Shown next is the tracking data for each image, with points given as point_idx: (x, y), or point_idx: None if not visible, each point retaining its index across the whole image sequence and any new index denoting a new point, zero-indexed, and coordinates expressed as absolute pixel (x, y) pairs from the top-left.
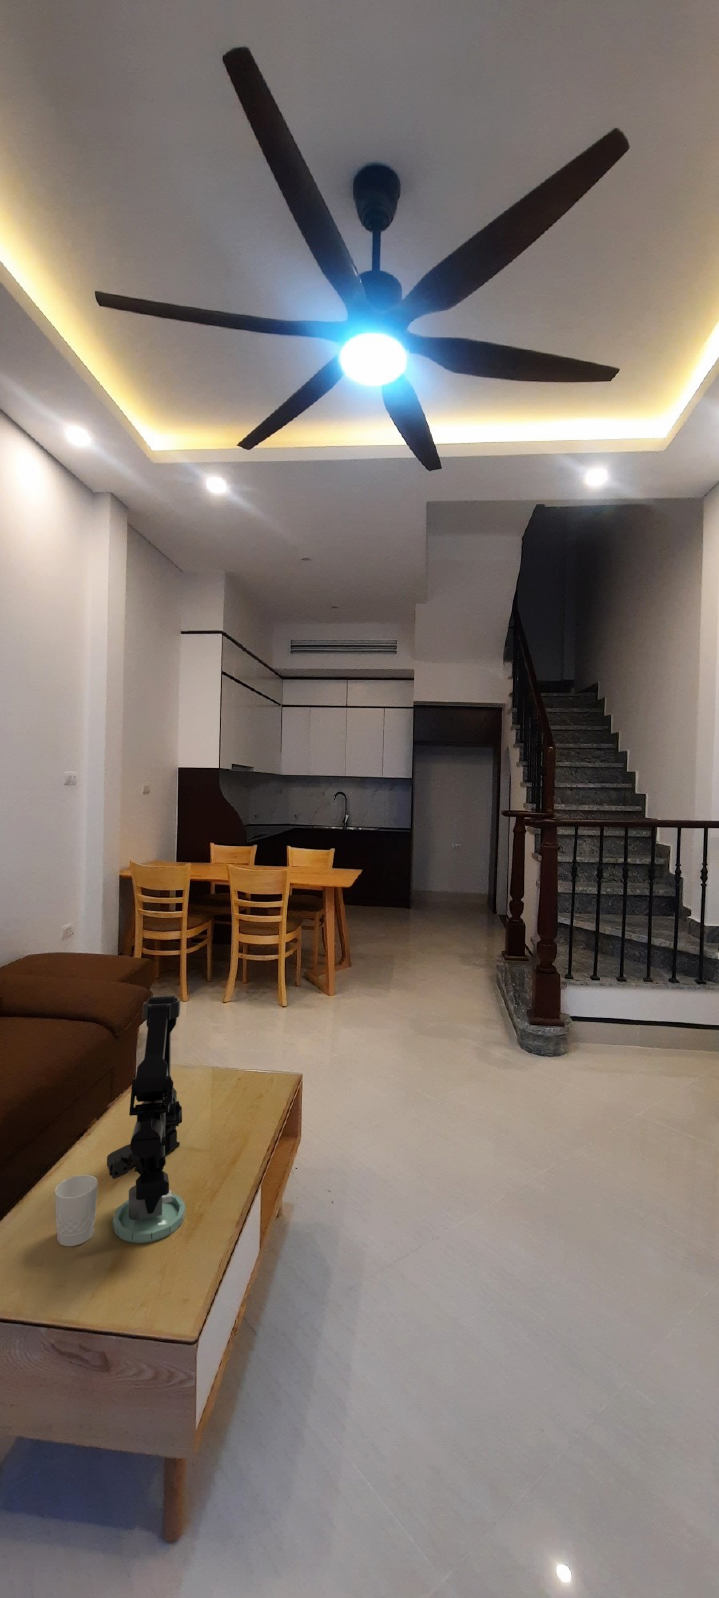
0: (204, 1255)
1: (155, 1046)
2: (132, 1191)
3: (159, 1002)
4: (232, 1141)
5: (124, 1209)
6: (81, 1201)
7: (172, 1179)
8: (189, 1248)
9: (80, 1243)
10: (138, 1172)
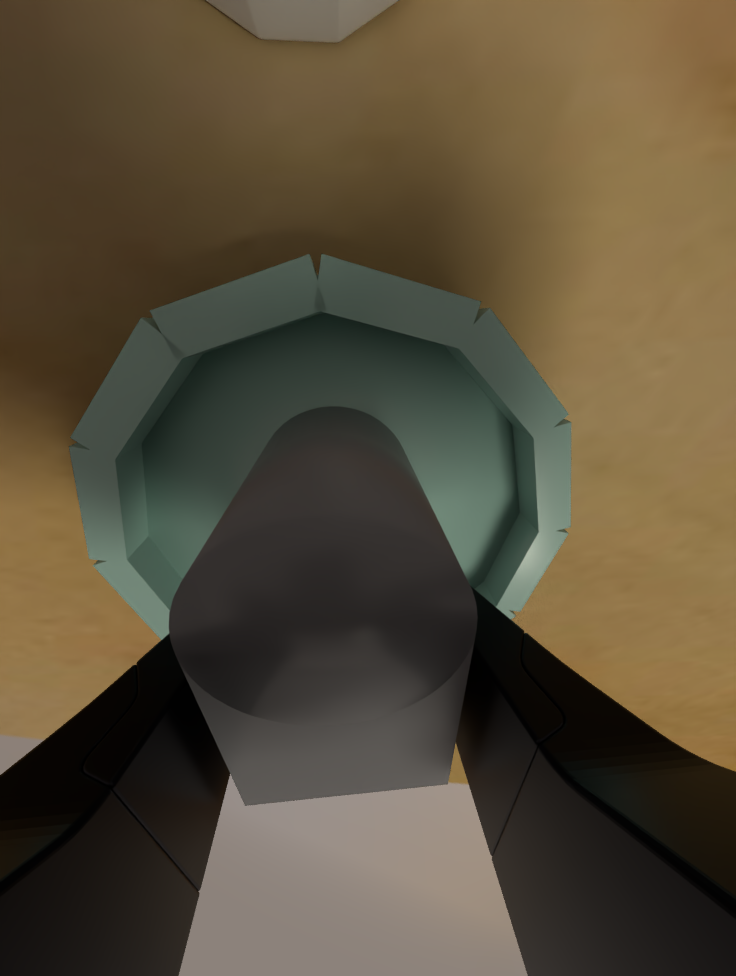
0: (45, 705)
1: None
2: (311, 568)
3: None
4: (727, 751)
5: (467, 366)
6: None
7: (646, 600)
8: (88, 665)
9: None
10: (668, 867)
